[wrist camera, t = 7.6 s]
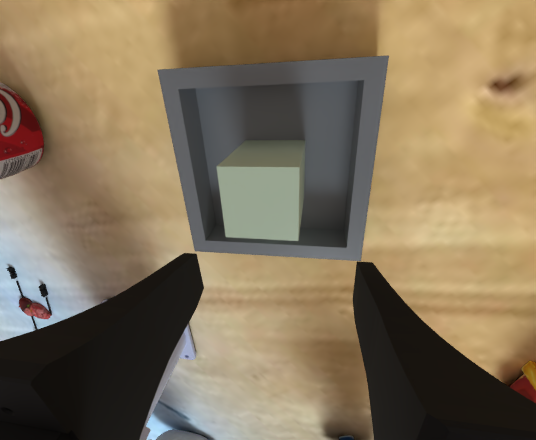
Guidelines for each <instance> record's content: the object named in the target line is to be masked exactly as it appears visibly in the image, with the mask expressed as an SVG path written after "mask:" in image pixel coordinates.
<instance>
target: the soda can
mask: <svg viewBox="0 0 536 440" xmlns="http://www.w3.org/2000/svg"><path fill="white" fill-rule="evenodd" d="M43 150H44V141H43V135H42V131H41V128H40V125H39V123H38V121H37V119H36V117H35V115H34V114H33V112H32V111H31V109H30V108H29V107H28V105H27V104H26V103H25V102H24V101H23V99H22V98H21V97H20V96H19V95H18V94H17V93H15V92H14V91H13V90H12V89H10V88H9V87H8V86H6V85H5V84H3V83H1V82H0V179H3V178H6V177H9V176H12V175H15V174H17V173H19V172H21V171H24V170H26V169H28V168H30V167H32V166H34V165H36V164H37V163H38V162H39V161H40V159H41V157H42V154H43Z"/></svg>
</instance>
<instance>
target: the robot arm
mask: <svg viewBox="0 0 536 440" xmlns="http://www.w3.org/2000/svg"><path fill="white" fill-rule="evenodd" d="M203 289H204V286H203V282H202V277H201V272H200V268H199V263H198V259H197V254H190V253H184V254H182V255H180V256H179V257H177V258H176V259H174V260H172V261H171V262H169V263H168V264H166V265H165V266H163V267H162V268H160V269H159V270H157V271H156V272H154V273H153V274H151V275H150V276H148V277H147V278H145V279H144V280H142V281H140V282H139V283H137V284H135V285H134V286H132V287H130V288H129V289H127V290H126V291H124V292H122V293H120V294H118V295H117V296H115V297H113V298H111V299H109V300H107V299H105V300H103V301H102V302H101V304H99V305H97V306H95V307H93V308H90V309H88V310H86V311H84V312H81V313H79V314H77V315H75V316H72V317H70V318H68V319H65V320H62V321H60V322H57V323H55V324H52V325H49V326H47V327H44V328H41V329H38V330H35V331H32V332H29V333H26V334H23V335H20V336H16V337H13V338H10V339H7V340H4V341H0V440H146V439H147V437H148V434H149V432H150V429H149V428H147V427H146V425H147V423H148V421H149V418H150V416H151V414H152V412H153V410H154V408H155V406H156V404H157V402H158V400H159V398H160V396H161V394H162V392H163V390H164V388H165V386H166V384H167V382H168V380H169V378H170V376H171V374H172V372H173V370H174V368H175V366H176V364H177V362H178V360H179V358H182V359H190V360H194V359H195V358H196V352H195V348H194V344H193V340H192V336H191V332H190V328H189V325H188V323H189V321H190V319H191V317H192V315H193V314H194V312H195V310H196V308H197V305H198V303H199V300H200V297H201V294H202V292H203ZM353 307H354V318H355V324H356V329H357V334H358V338H359V343H360V348H361V352H362V357H363V361H364V366H365V371H366V376H367V382H368V389H369V398H370V406H371V415H372V424H373V433H374V440H536V403H535V402H533V401H531V400H530V399H528V398H526V397H525V396H523V395H521V394H520V393H518V392H517V391H515V390H513V389H512V388H510V387H508V386H507V385H505V384H504V383H502V382H501V381H499V380H498V379H496V378H495V377H494V376H492V375H491V374H489V373H488V372H486V371H485V370H483V369H482V368H480V367H479V366H478V365H476V364H475V363H473V362H472V361H471V360H469V359H468V358H467V357H465V356H464V355H463V354H461V353H460V352H459V351H458V350H456V349H455V348H454V347H452V346H451V345H450V344H449V343H447V342H446V341H445V340H444V339H443V338H441V337H440V336H439V335H438V334H437V333H436V332H435V331H433V330H432V329H431V328H430V327H429V326H428V325H427V324H426V323H424V322H423V321H422V320H421V319H420V318H419V317H418V316H417V315H416V314H415V313H414V312H413V310H412V309H411V308H410V307H409V306H408V305H407V304H406V303H405V302H404V301H403V300H402V299H401V297H400V296H399V295H398V294H397V293H396V292H395V290H394V289H393V288H392V287H391V286H390V284H389V283H388V282H387V281H386V279H385V278H384V277H383V276H382V274H381V273H380V272H379V270H378V269H377V268H376V266H375V265H374V264H373V263H372V262H357V266H356V275H355V283H354V292H353Z"/></svg>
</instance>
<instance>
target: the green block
mask: <svg viewBox="0 0 536 440" xmlns="http://www.w3.org/2000/svg"><path fill="white" fill-rule="evenodd" d="M216 167H217V174H218V182H219V190H220V197H221V205H222V212H223V220H224V228H225V235H226V237H233V238H251V239H269V240H288V241H298V240H299V233H300V225H301V217H302V209H303V201H304V180H305V140H246V141H245V142H243V143H242V144H241V145H240V146H239V147H238V148H237V149H236V150H234V151H233V152H232V153H231V154H230V155H229V156H228V157H227V158H225V159H224V160H223V161H222V162H221V163H220V164H219V165H218V166H216Z"/></svg>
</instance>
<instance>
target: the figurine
mask: <svg viewBox="0 0 536 440" xmlns="http://www.w3.org/2000/svg"><path fill="white" fill-rule="evenodd" d="M339 440H354V437H353V436H341V437H339Z"/></svg>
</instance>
